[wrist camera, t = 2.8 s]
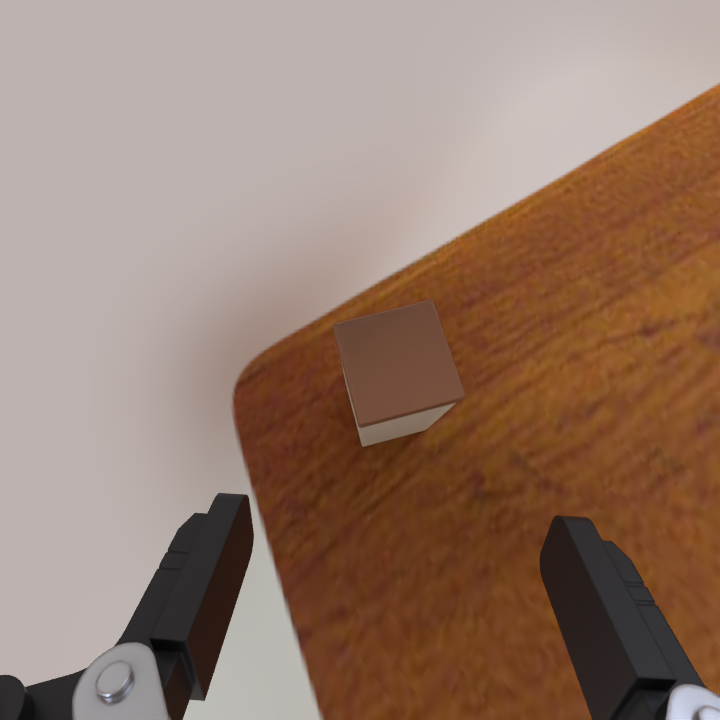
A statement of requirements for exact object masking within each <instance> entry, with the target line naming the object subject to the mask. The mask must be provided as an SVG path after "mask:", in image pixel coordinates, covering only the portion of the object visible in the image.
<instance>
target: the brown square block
mask: <svg viewBox="0 0 720 720" xmlns="http://www.w3.org/2000/svg"><path fill="white" fill-rule="evenodd" d="M333 331H334V335H335V339H336V343H337V347H338V350H339V354H340V358H341V363H342V368H343V373H344V378H345V382H346V387H347V391H348V394H349V398H350V402H351V406H352V410H353V414H354V417H355V421H356V425H357V429H358V433H359V437H360V441H361V444H362V447H365V446H369V445H372V444H376V443H380V442H383V441H387V440H391V439H395V438H398V437H402V436H406V435H409V434H413V433H417V432H420V431H424V430H427V429H428V428H429V427H430V426H431V425H432V424H433V423H434V422H436V421H437V420H438V419H439V418H440V417H441V416H442V415H443V414H445V413H446V412H447V411H448V410H449V409H450V408H451V407H452V406H453V405H455V404H456V403H457V402H460V401H462V400H463V399H464V398H465V397H466V395H465V392H464V389H463V386H462V383H461V380H460V377H459V374H458V371H457V369H456V366H455V363H454V360H453V357H452V354H451V351H450V348H449V345H448V342H447V339H446V337H445V334H444V331H443V328H442V325H441V322H440V319H439V316H438V313H437V310H436V307H435V305H434V302H433V300H432V299H430V300H426V301H422V302H418V303H414V304H410V305H406V306H402V307H398V308H394V309H390V310H386V311H382V312H378V313H374V314H370V315H366V316H362V317H358V318H354V319H350V320H346V321H342V322H338V323H334V324H333Z"/></svg>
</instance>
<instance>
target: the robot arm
mask: <svg viewBox="0 0 720 720" xmlns="http://www.w3.org/2000/svg"><path fill="white" fill-rule="evenodd" d="M253 540H254V534H253V525H252V518H251V510H250V504H249V498H248V496H247V495H242V494H226V493H219V494H217V496H216V497H215V499H214V501H213V503H212V505H211V507H210V509H209V511H208V514H203V513H194V514H193V515H192V516H191V517H190V518H189V519H188V521H186V522H185V523H184V524H183V525H182V526H181V527H180V528H179V529H178V531H177V533H176V535H175V537H174V539H173V540H172V542H171V544H170V546H169V548H168V552H167V553H166V554H165V555H164V557H163V559H162V561H161V563H160V566H159V569H157V571H156V572H155V574H154V576H153V578H152V580H151V582H150V584H149V586H148V588H147V590H146V591H145V593H144V595H143V597H142V599H141V601H140V603H139V605H138V607H137V608H136V610H135V612H134V614H133V616H132V618H131V620H130V622H129V624H128V626H127V628H126V629H125V631H124V633H123V635H122V636H121V638H120V639H119V641H118V642H117V643H116V645H115V646H114V647H113V648H111V649H109V650H108V651H106V652H104V653H103V654H102V655H100V656H99V657H98V658H97V659H95V660H94V661H93V662H92V663H91V664H90V666H89V667H88V668H85V669H83V670H81V671H79V672H76V673H73V674H70V675H67V676H63V677H60V678H56V679H52V680H49V681H45V682H42V683H38V684H35V685H31V686H27V687H24V685H23V684H22V683H21V681H20V680H18V679H17V678H16V677H14V676H10V675H0V720H183V717H184V714H185V711H186V708H187V705H188V702H189V700H201V701H202V700H203V701H205V698H206V695H207V692H208V689H209V686H210V682H211V679H212V676H213V673H214V670H215V667H216V663H217V661H218V657H219V654H220V651H221V648H222V645H223V642H224V639H225V636H226V632H227V629H228V626H229V623H230V620H231V617H232V614H233V611H234V608H235V604H236V601H237V598H238V595H239V592H240V589H241V586H242V583H243V579H244V576H245V573H246V570H247V567H248V564H249V561H250V557H251V553H252V547H253ZM540 571H541V576H542V580H543V582H544V585H545V588H546V591H547V594H548V596H549V599H550V602H551V605H552V608H553V610H554V613H555V616H556V619H557V622H558V624H559V627H560V630H561V633H562V636H563V638H564V641H565V644H566V647H567V650H568V652H569V655H570V658H571V661H572V664H573V666H574V669H575V672H576V675H577V678H578V680H579V683H580V686H581V689H582V692H583V694H584V697H585V700H586V703H587V706H588V708H589V711H590V714H591V717H592V720H720V696H719V695H717V694H715V693H714V692H712V691H710V690H708V689H707V688H706V686H705V685H704V684H703V682H702V681H701V679H700V677H699V676H698V674H697V672H696V671H695V669H694V667H693V666H692V664H691V662H690V660H689V659H688V657H687V655H686V654H685V652H684V650H683V648H682V647H681V645H680V643H679V642H678V640H677V638H676V636H675V635H674V633H673V631H672V630H671V628H670V626H669V624H668V623H667V621H666V619H665V618H664V616H663V614H662V612H661V611H660V609H659V607H658V606H657V605H655V603H654V601H655V600H654V599H653V597H652V595H651V594H650V592H649V590H648V588H647V587H645V586H644V582H643V580H642V578H641V576H640V575H639V573H638V571H637V570H636V568H635V566H634V564H633V563H632V561H631V560H630V559H629V558H628V557H627V556H626V555H625V554H624V553H623V552H622V551H621V550H620V549H619V548H618V547H617V546H616V545H615V544H614V543H613V542H612V541H602V539H601V537H600V535H599V534H598V532H597V530H596V528H595V526H594V524H593V523H592V521H591V520H590V519H588V518H586V517H572V516H555V517H554V518H553V520H552V523H551V526H550V528H549V531H548V534H547V537H546V539H545V542H544V545H543V548H542V550H541V554H540Z"/></svg>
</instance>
